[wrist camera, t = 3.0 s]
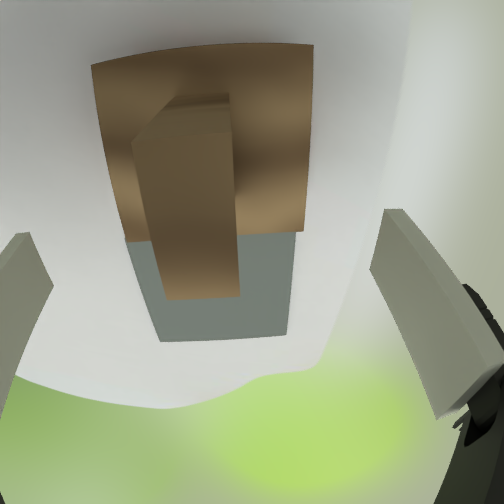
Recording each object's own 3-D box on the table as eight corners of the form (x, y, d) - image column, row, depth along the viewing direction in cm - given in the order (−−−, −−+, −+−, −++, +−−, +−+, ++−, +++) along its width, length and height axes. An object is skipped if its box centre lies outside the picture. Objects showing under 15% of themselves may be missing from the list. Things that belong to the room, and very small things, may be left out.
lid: (98, 63, 15) (-1, 92, 7) (308, 44, 16) (387, 49, 7) (130, 233, 23) (93, 340, 15) (300, 222, 23) (338, 328, 15)
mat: (126, 235, 30) (124, 238, 29) (294, 224, 31) (296, 227, 30) (160, 338, 40) (160, 341, 40) (285, 331, 41) (286, 335, 41)
